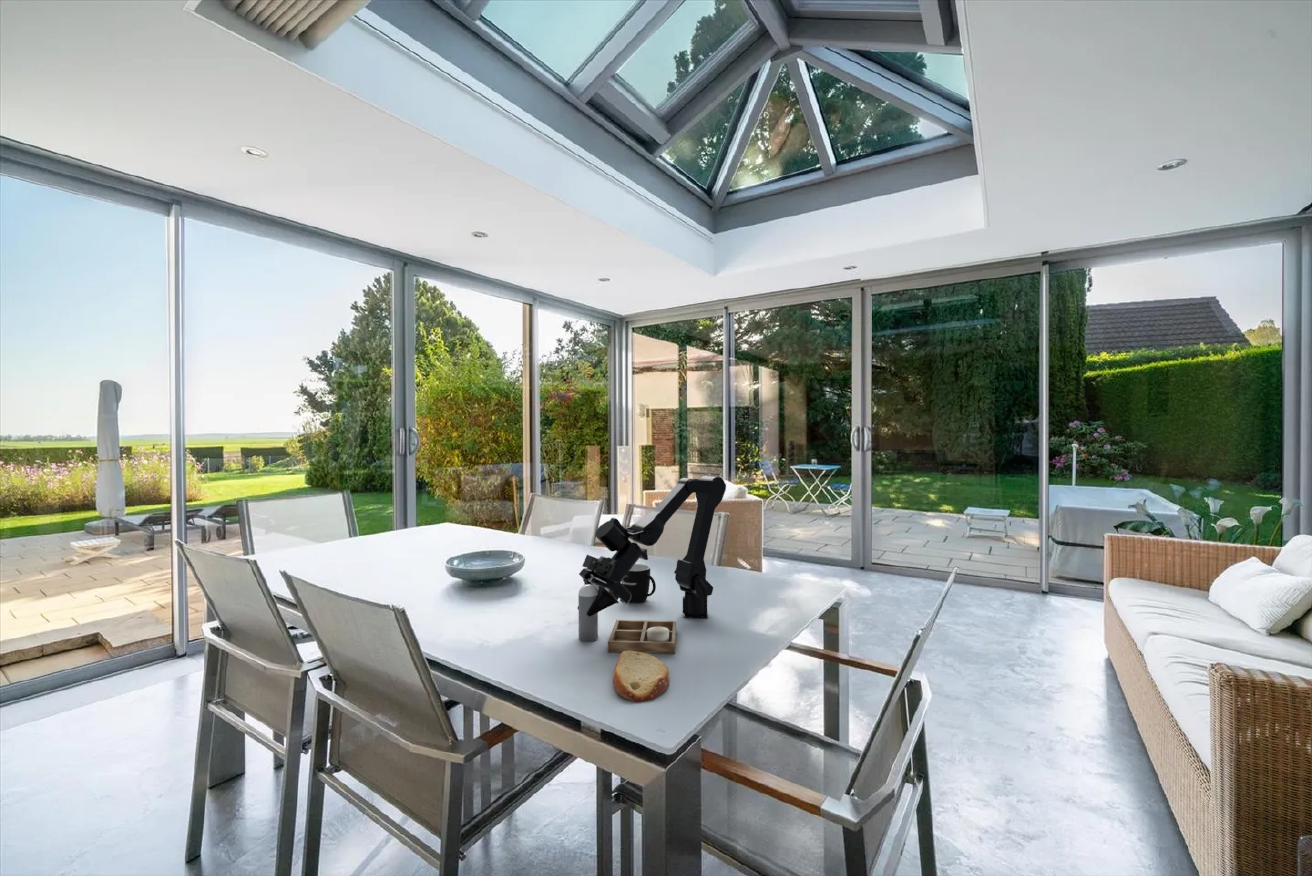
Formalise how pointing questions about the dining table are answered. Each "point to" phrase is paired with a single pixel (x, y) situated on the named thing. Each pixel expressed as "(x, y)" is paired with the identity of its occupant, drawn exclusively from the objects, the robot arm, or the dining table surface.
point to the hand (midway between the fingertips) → (583, 612)
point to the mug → (639, 583)
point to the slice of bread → (640, 676)
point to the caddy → (643, 636)
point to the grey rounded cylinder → (586, 623)
